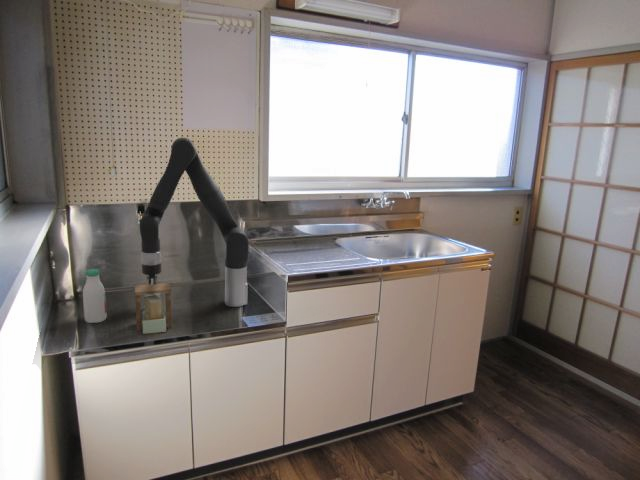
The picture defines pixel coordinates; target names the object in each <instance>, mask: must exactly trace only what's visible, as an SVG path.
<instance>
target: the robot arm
mask: <svg viewBox="0 0 640 480" xmlns="http://www.w3.org/2000/svg"><path fill="white" fill-rule="evenodd" d="M184 172H185V173H186V175H187V176H188V178H189V180H190V183H191V185H192V188H193V191H194V192H195V194H196V196H197V199H198V200H199V202H200V203H201V205H202V207H203V208H204V209H205V211H206V212H207V214H208V215H209V216H210V218H211V219H212V220H213V221H214V222H215V224H216V225H217V227H218V229H219V231H220V234H221V236H222V238H223V240H224V243H225V247H226V248H225V249H226V254H225V255H226V257H225V260H224V304H225V305H226V306H228V307H230V308H231V307H232V308H237V307H242V306H245V305H246V306H247V305H248V288H249V287H248V282H247V277H248V276H247V275H248V274H247V273H248V272H247V271H248V269H247V268H248V261H249V249H250V248H249V243H250V242H249V237H248V235H247V234H246V232H245V231H244V230H243V229H242V228H241V226H240V225H239V224H238V222H237V221H236V220H235V218H234V216H233V214H232V213H231V210H230V207H229V205H228V202H227V200H226V198H225V196H224V194H223V192H222V190H221V189H220V187H219V185H218V184H217V183H216V181H215V179H214V178H213V176H212V175H211V174H210V172H209V170H207V168H206V167H205V165H204V163H203V162H202V160H201V157H200V155H199V152H198V150H197V149H196V145H195V144H194V141H192V140H190V139H189V138H186V137H178V138H176V139H175V140H174V141H173V143H172V145H171V149H170V156H169V159H168V164H167V166H166V167H165V170H164V172H163V174H162V177H160V179H159V181H158V183H157V184H156V187H155V188H154V191H153V192H152V195H151V197H150V199H149V202H148V205H147V207H146V209H145V211H144V212H143V215H142V216H141V218H140V221H139V231H140V232H139V233H140V238H141V256H140V258H141V259H140V260H141V273H142V274H143V275H145V276H146V283H147V285H148V284H158V275H159V274H161V273H162V271H163V270H162V255H161V253H162V252H161V242H160V241H161V240H160V238H159V227H160V226H159V225H160V223H161V221H162V218H163V217H164V214H165V211H166V210H167V208H168V207H169V205H170V202H171V201H172V198H173V196H174V193H175V191H176V188H177V187H178V185H179V182H180V180H181V178H182V177H183V174H184Z"/></svg>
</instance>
